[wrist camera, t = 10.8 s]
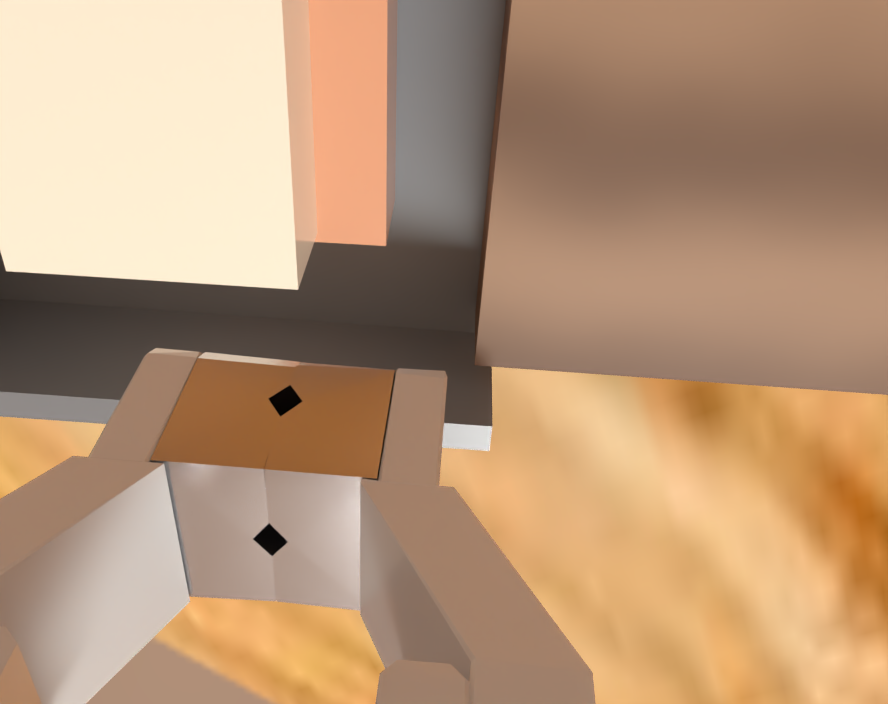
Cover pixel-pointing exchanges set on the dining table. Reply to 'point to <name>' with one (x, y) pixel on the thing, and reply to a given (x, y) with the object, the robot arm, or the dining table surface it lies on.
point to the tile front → (157, 140)
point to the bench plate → (690, 192)
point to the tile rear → (354, 118)
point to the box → (308, 265)
